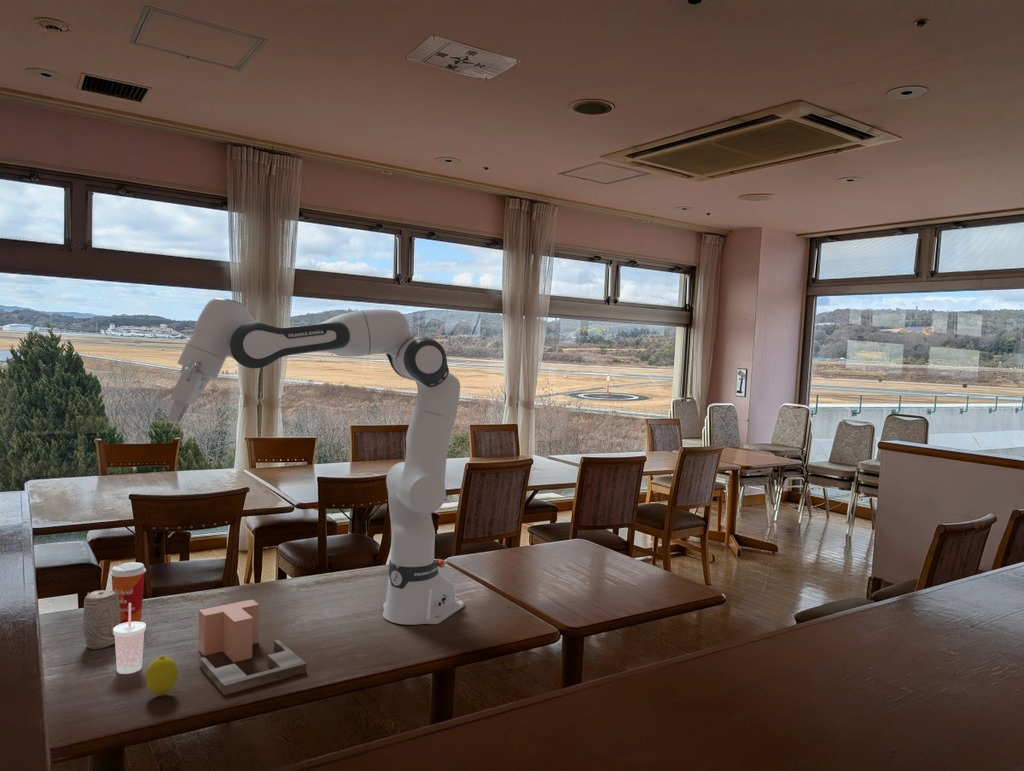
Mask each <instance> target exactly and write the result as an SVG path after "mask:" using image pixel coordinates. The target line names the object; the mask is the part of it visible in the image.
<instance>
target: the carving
mask: <svg viewBox="0 0 1024 771" xmlns="http://www.w3.org/2000/svg"><path fill="white" fill-rule="evenodd" d="M117 596H118V595H117V594H116V592H114V591H112V590H106V589H105V590H102V589H101V590H94V591H92V592H89V593H88V594H87V595H86V596H85V597H84V600H83V611H82V612H83V614H82V634H83V636H84V641H85V645H86V647H87V648H88V649H91V650H100V649H104V648H107V647H110V646H112V645H115V635H114V634H113V628H114V627H115V626H117V625H119V624H120V613H119V609H120V606H119V601H118V597H117Z"/></svg>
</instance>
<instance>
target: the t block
mask: <svg viewBox="0 0 1024 771" xmlns="http://www.w3.org/2000/svg"><path fill="white" fill-rule="evenodd" d="M259 610H260V606H259V603H258V602H256V600H254V599H247V600H242V601H237V602H233V603H232V602H231V603H228V604H223V605H217V606H212V607H208V608H204V609H203V608H202V609H199V610H198V650H199V652H200V653H201V654H202V656H204V657H205V656H208V655H213V654H217V653H221V652H223V653H224V654H225V656H227V657H228V659H229V660H230V661H231V662H232V663H237V662H241V661H246V660H249V659H252V658H253V645H254V644H258V643H259V626H260V625H259V621H260V618H259V617H260V616H259V612H260V611H259Z"/></svg>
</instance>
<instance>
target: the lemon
mask: <svg viewBox="0 0 1024 771" xmlns="http://www.w3.org/2000/svg"><path fill="white" fill-rule="evenodd" d="M177 680H178V667H177V664H176V662H175V661H174V660H173V659H172V658H171V657H170V656H169V657H168V656H165V655H160V656H158V657H157V658H155V659H153V660H152V661H151V662H150V663H149V665H148V667H147V669H146V675H145V683H146V687H147V690H149V692H151V693H152V694H154V695H157V696H159V697H163V696H164V695H165V694H167V693H169V692H170V691H172V690H173V688H174V686H175V685H176V683H177Z"/></svg>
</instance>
